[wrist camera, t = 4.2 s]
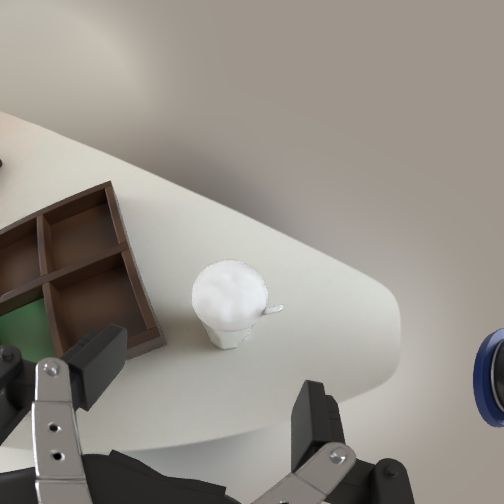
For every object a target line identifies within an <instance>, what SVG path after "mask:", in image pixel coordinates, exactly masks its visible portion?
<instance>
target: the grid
mask: <svg viewBox="0 0 504 504" xmlns="http://www.w3.org/2000/svg"><path fill="white" fill-rule="evenodd" d="M110 323H113V324H115V325H118V326H121V327H123V328H126V329H127V355H126V360H128V359H131V358H133V357H136V356H139V355H141V354H144V353H146V352H149V351H151V350H154V349H156V348H159V347H161V346H164V345H166V344H167V343H166V341H165V339H164V336H163V334H162V331H161V329H160V326H159V324H158V321H157V319H156V316H155V314H154V311H153V308H152V306H151V303H150V300H149V298H148V295H147V292H146V289H145V287H144V284H143V281H142V278H141V275H140V272H139V270H138V267H137V264H136V261H135V258H134V254H133V251H132V248H131V245H130V242H129V239H128V235H127V232H126V229H125V225H124V222H123V218H122V215H121V211H120V208H119V204H118V200H117V197H116V194H115V191H114V189H113V186H112V183H111V181H107V182H105V183H102V184H100V185H97V186H95V187H92V188H90V189H87V190H85V191H82V192H80V193H77V194H75V195H73V196H70V197H68V198H65V199H63V200H61V201H59V202H56V203H54V204H52V205H50V206H47V207H45V208H43V209H41V210H39V211H37V212H35V213H32V214H30V215H28V216H26V217H24V218H22V219H20V220H18V221H16V222H14V223H12V224H10V225H8V226H6V227H4V228H3V229H1V230H0V346H2V345H13V346H15V347H17V348H18V349H20V351H21V353H22V358H23V359H25V360H28V361H32V362H35V363H38V362H39V361H41V360H42V359H44V358H49V357H54V358H60V357H61V356H62V355H63V354H64V353H66V352H67V351H68V350H69V349H70V348H71V347H73V346H74V345H75V344H77V342H78V341H80V340H81V339H82V338H83V337H84V336H85V335H87V334H88V333H89V332H92V331H95V330H98V329H99V330H103V329H104V328H106V327H107V326H108V325H109V324H110ZM2 392H3V389H2V390H1V391H0V394H1V393H2Z"/></svg>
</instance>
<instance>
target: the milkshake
mask: <svg viewBox="0 0 504 504" xmlns="http://www.w3.org/2000/svg"><path fill="white" fill-rule="evenodd" d="M191 298H192V305H193V308H194V311H195V313H196V314H197V316H198V317H199V319H200V321H201V322H202V324H203V326H204V327H205V329H206V331H207V333H208V336H209V338H210V340H211V342H212V343H213V344H214V345H216V346H218V347H219V348H221V349H233V348H236V347H237V346H238V345H240V344H241V343H242V342H243V341H244V340H245V339H246V337H247V336H248V334H249V333H250V331H251V329H252V328H253V326H254V325H255V324H256V323H257V321H258V320H259V319H260V318H261V316H262V315H267V314H271V313H275V312H279V311H281V309H282V307H283V304H282V305H278V306H274V307H271V308H267V309H266V306H267V301H268V292H267V288H266V285H265V282H264V281H263V279H262V277H261V276H260V274H259V273H258V272H257V271H256V270H254V269H253V268H251V267H250V266H248V265H246V264H244V263H242V262H240V261H236V260H223V261H219V262H217V263H214V264H212V265H209V266H208V267H206V268H205V269H204V270H203V271H202V272H201V273H200V274H199V275H198V277H197V278H196V280H195V282H194V284H193V287H192V294H191Z"/></svg>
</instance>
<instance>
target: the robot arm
mask: <svg viewBox="0 0 504 504" xmlns="http://www.w3.org/2000/svg"><path fill="white" fill-rule="evenodd" d="M126 355H127V329H126V328H123V327H121V326H118V325H115V324H113V323H110V324H109V325H108V326H107V327H106V328H104V329H103V330H99V329H98V330H95V331H92V332H89V333H88V334H87V335H85V336H84V337H83V338H82V339H81V340H80V341H78V342H77V344H75V345H74V346H73V347H71V348H70V349H69V350H68V351H67V352H66V353H64V354H63V355H62V356H61V357H60V358H54V357H49V358H44V359H42V360H41V361H39V362H38V363H35V362H32V361H28V360H25V359H23V358H22V353H21V351H20V349H18V348H17V347H15V346H13V345H2V346H0V391H1V390H2V389H3V392H2V393H1V394H0V446H1V444H2V443H3V442H4V441H5V439H6V438H7V437H8V436H9V434H10V433H11V432H12V431H13V430H14V428H15V427H16V426H17V425H18V424H19V422H20V421H21V420H22V419H23V418H24V417H25V415H26V414H27V413H28V412H29V411H30V410H32V432H33V448H34V459H35V467H30V468H26V469H21V470H15V471H10V472H4V473H0V504H241V503H240V502H238V501H237V500H235V499H234V498H232V497H230V496H228V495H225V490H226V487H224V486H220V485H216V484H212V483H208V482H204V481H200V480H194V479H183V478H174V477H167V476H164V475H162V474H160V473H158V472H157V471H155V470H153V469H152V468H150V467H148V466H147V465H145V464H144V463H142V462H140V461H139V460H137V459H134V458H131V457H129V456H127V455H124V454H122V453H120V452H118V451H115V450H113V449H112V451H111V453H110V454H109V456H108V455H102V454H83V450H82V445H81V441H80V435H79V430H78V424H77V418H76V410H77V409H78V408H79V407H80V408H82V409H84V410H86V411H89V409H90V408H91V407H92V406H93V404H94V403H95V402H96V401H97V399H98V398H99V397H100V396H101V394H102V393H103V392H104V391H105V389H106V388H107V387H108V386H109V384H110V383H111V382H112V381H113V379H114V378H115V377H116V376H117V374H118V373H119V372H120V371H121V370H122V368H123V366H124V364H125V361H126ZM489 384H490V391H491V395H492V398H493V401H494V403H495V405H496V407H497V408H498V410H499V411H500V412H502V413H503V414H504V339H502V340H501V341H500V342H499V343H498V344H497V345H496V347H495V349H494V351H493V354H492V357H491V361H490V368H489ZM340 420H341V419H340V414H339V408H338V404H337V402H336V401H335V400H334V398H333V397H332V396H331V395H325V390H324V385H323V383H321V382H316V381H310V380H305V382H304V384H303V386H302V388H301V391H300V393H299V395H298V397H297V400H296V402H295V404H294V407H293V410H292V415H291V473H289V474H288V475H287V476H285V477H284V478H283V479H282V480H281V481H279V482H278V483H277V484H276V485H274V487H272V488H271V489H269V490H268V491H267V492H266V493H264V494H263V495H262V496H260V497H259V498H258V499H256V500H255V501H254V502H252V503H251V504H321V503H322V501H325V502H328V503H331V504H415V503H414V498H413V494H412V490H411V486H410V482H409V478H408V474H407V470H406V468H405V467H404V465H403V464H402V463H400V462H399V461H397V460H394V459H390V458H385V459H382V460H380V461H379V462H378V463H377V464H376V465H375V464H371V463H367V462H365V461H361V460H359V459H357V458H356V455H355V453H354V451H353V450H352V449H351V448H350V447H349V446H347V445H346V444H345V439H344V433H343V428H342V423H341V421H340Z"/></svg>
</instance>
